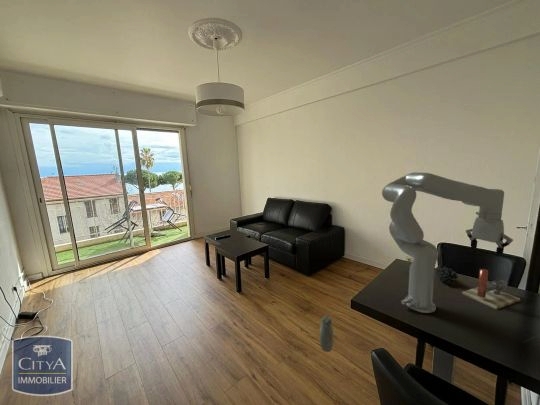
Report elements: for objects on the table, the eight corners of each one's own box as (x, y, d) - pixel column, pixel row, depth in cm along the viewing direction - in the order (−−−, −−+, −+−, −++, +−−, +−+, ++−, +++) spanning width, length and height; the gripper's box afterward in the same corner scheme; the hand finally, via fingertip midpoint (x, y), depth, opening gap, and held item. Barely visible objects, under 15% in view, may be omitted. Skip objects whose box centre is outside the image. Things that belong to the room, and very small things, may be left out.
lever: (484, 299, 107) (487, 272, 105) (473, 294, 111) (476, 268, 109) (509, 291, 113) (513, 265, 111) (498, 286, 117) (501, 262, 115)
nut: (489, 290, 117) (490, 283, 116) (481, 286, 120) (481, 280, 120) (494, 288, 118) (494, 282, 117) (485, 285, 121) (486, 279, 121)
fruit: (442, 278, 137) (457, 288, 122) (427, 274, 138) (441, 284, 123) (446, 264, 136) (462, 273, 121) (431, 261, 137) (445, 268, 123)
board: (496, 309, 104) (497, 300, 103) (462, 293, 117) (462, 285, 116) (519, 300, 109) (521, 291, 108) (484, 286, 122) (485, 278, 122)
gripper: (463, 213, 111) (459, 247, 113) (509, 220, 95) (504, 259, 97) (473, 212, 113) (469, 245, 116) (520, 218, 97) (515, 257, 100)
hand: (485, 251), depth 106 cm, fingers open, 9 cm apart
